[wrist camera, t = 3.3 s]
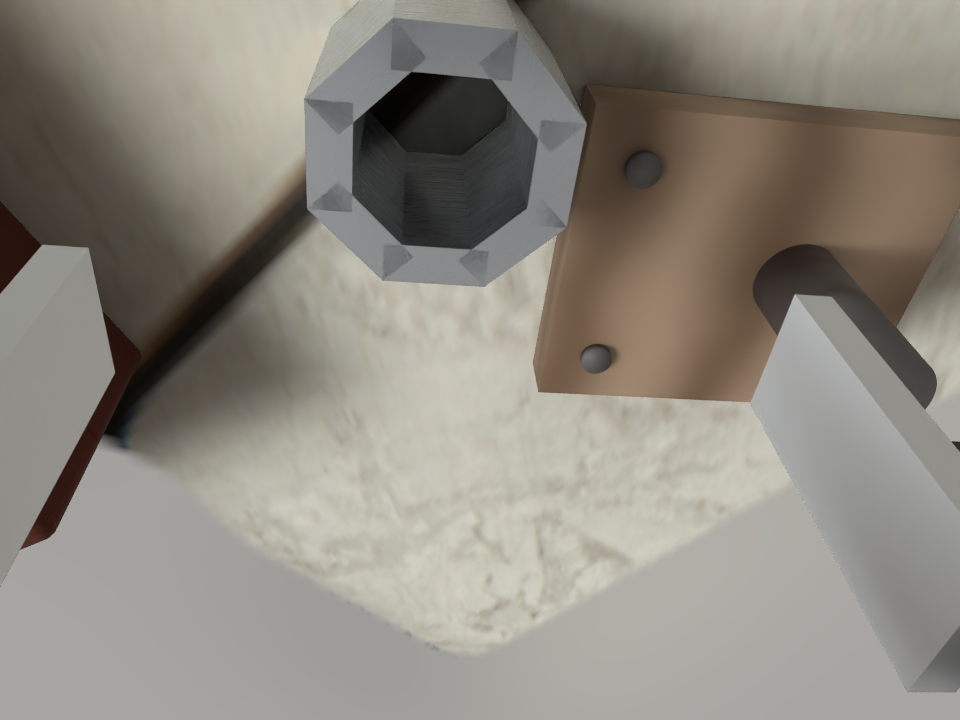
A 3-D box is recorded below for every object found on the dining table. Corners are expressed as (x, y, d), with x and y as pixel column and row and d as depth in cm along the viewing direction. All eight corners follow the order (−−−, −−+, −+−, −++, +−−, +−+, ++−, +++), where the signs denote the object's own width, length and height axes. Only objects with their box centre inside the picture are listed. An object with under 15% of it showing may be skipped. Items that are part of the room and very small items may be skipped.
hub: (331, 176, 28) (308, 276, 22) (330, -45, 23) (301, 8, 18) (528, 192, 28) (554, 291, 23) (561, -20, 24) (603, 38, 19)
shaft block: (533, 363, 33) (563, 521, 26) (585, 83, 26) (647, 196, 19) (834, 378, 35) (941, 532, 28) (961, 120, 28) (1149, 236, 21)
